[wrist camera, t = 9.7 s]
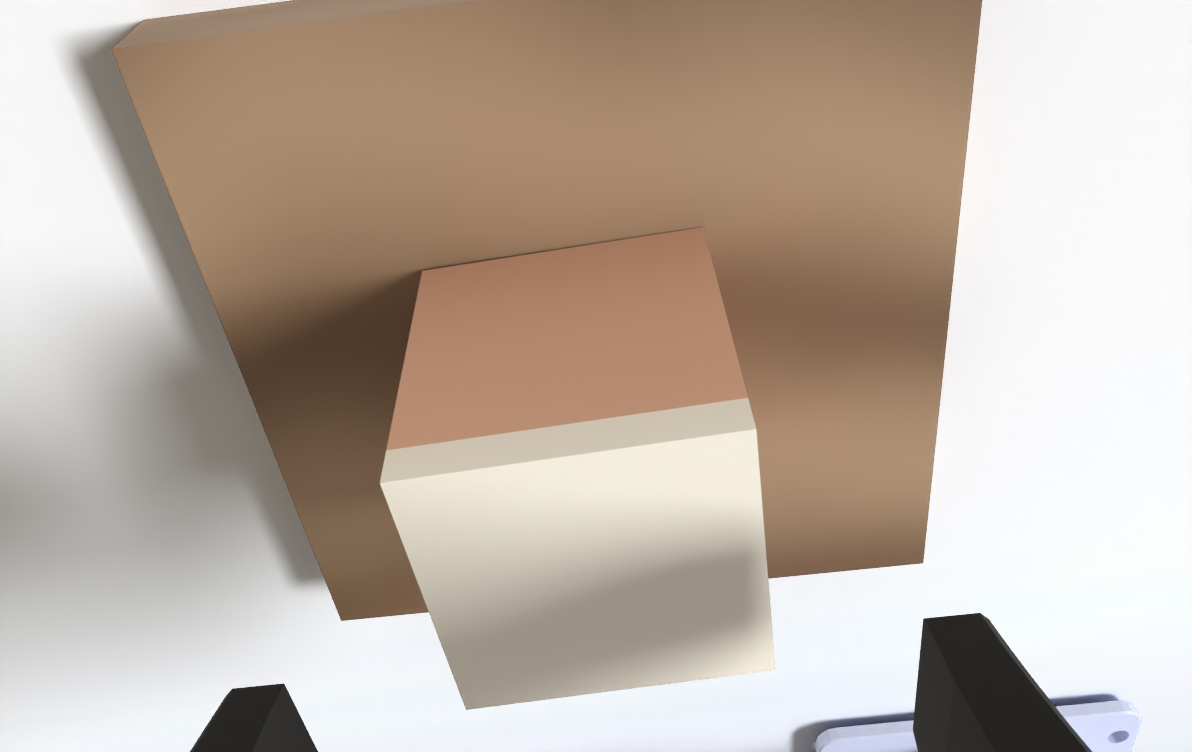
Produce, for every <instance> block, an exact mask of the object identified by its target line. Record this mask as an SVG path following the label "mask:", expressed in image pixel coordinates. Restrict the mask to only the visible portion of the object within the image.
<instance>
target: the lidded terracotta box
mask: <svg viewBox="0 0 1192 752" xmlns="http://www.w3.org/2000/svg"><path fill="white" fill-rule="evenodd" d="M380 485H381V488H382V490H383V493H384V496H385V498H386V501H387V504H388V506H389V509H390V511H391V514H392V517H393V519H394V522H395V524H396V527H397V530H398V532H399V535H400V538H401V540H402V543H403V545H404V548H405V551H406V553H407V556H408V559H409V561H410V564H411V566H412V569H413V572H414V574H415V577H416V579H417V582H418V585H419V587H420V590H421V593H422V595H423V598H424V600H425V603H426V606H427V608H428V611H429V613H430V616H431V619H432V621H433V624H434V627H435V629H436V632H437V634H438V637H439V640H440V642H441V645H442V647H443V650H444V653H445V655H446V658H447V661H448V663H449V666H450V668H451V671H452V674H453V676H454V679H455V681H456V684H457V687H458V689H459V692H460V695H461V697H462V700H463V702H464V705H465V708H466V710H468V709H475V708H483V707H491V706H499V705H506V704H514V703H522V702H530V701H538V700H545V699H553V698H561V697H569V696H576V695H584V694H592V693H600V692H607V691H615V690H623V689H631V688H639V687H646V686H654V685H662V684H670V683H677V682H685V681H693V680H701V679H708V678H716V677H724V676H732V675H739V674H747V673H755V672H763V671H771V670H775V659H774V647H773V634H772V621H771V609H770V596H769V583H768V571H767V558H766V545H765V533H764V520H763V507H762V494H761V482H760V469H759V456H758V444H757V431H756V426H755V422H754V418H753V414H752V411H751V407H750V403H749V399H748V395H747V392H746V388H745V384H744V380H743V376H742V373H741V369H740V365H739V361H738V357H737V354H736V350H735V346H734V342H733V338H732V335H731V331H730V327H729V323H728V319H727V315H726V312H725V308H724V304H723V300H722V296H721V293H720V289H719V285H718V281H717V277H716V274H715V270H714V266H713V262H712V258H711V255H710V251H709V247H708V243H707V239H706V236H705V232H704V228H703V227H700V228H693V229H687V230H681V231H674V232H668V233H661V234H655V235H649V236H642V237H636V238H629V239H623V240H617V241H610V242H604V243H597V244H591V245H585V246H578V247H572V248H565V249H559V250H552V251H546V252H540V253H533V254H527V255H520V256H514V257H508V258H501V259H495V260H488V261H482V262H476V263H469V264H463V265H456V266H450V267H444V268H437V269H431V270H424V271H422V274H421V279H420V284H419V289H418V294H417V299H416V304H415V309H414V314H413V319H412V324H411V329H410V334H409V339H408V344H407V349H406V354H405V359H404V364H403V369H402V374H401V379H400V384H399V389H398V394H397V399H396V404H395V409H394V414H393V419H392V424H391V429H390V434H389V439H388V444H387V449H386V454H385V459H384V464H383V469H382V474H381V479H380Z"/></svg>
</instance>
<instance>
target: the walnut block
mask: <svg viewBox="0 0 1192 752" xmlns="http://www.w3.org/2000/svg"><path fill="white" fill-rule="evenodd" d="M981 6H982V0H292V1H284V2H277V3H269V4H261V5H254V6H246V7H238V8H231V9H223V10H215V11H208V12H200V13H192V14H185V15H177V16H169V17H162V18H154V19H146V20H143V21H142V22H141V23H140V24H139V25H138V26H136V27H135V28H134V29H133V30H132V31H131V32H130V33H129V34H128V35H126V36H125V37H124V38H123V39H122V40H121V41H120V42H119V43H117V44H116V45H115V46H114V47H113V48H112V49H111V50H112V52H113V55H114V57H115V60H116V62H117V65H118V67H119V70H120V72H121V75H122V77H123V80H124V82H125V85H126V87H127V90H128V92H129V94H130V97H131V99H132V102H133V104H134V107H135V109H136V112H137V114H138V117H139V119H140V122H141V124H142V127H143V129H144V132H145V134H146V137H147V139H148V142H149V144H150V147H151V149H152V152H153V154H154V157H155V159H156V162H157V164H158V167H159V169H160V171H161V174H162V176H163V179H164V181H165V184H166V186H167V189H168V191H169V194H170V196H171V199H172V201H173V204H174V206H175V209H176V211H177V214H178V216H179V219H180V221H181V224H182V226H183V229H184V231H185V234H186V236H187V239H188V241H189V244H190V246H191V248H192V251H193V253H194V256H195V258H196V261H197V263H198V266H199V268H200V271H201V273H202V276H203V278H204V281H205V283H206V286H207V288H208V291H209V293H210V296H211V298H212V301H213V303H214V306H215V308H216V311H217V313H218V316H219V318H220V321H221V323H222V326H223V328H224V330H225V333H226V335H227V338H228V340H229V343H230V345H231V348H232V350H233V353H234V355H235V358H236V360H237V363H238V365H239V368H240V370H241V373H242V375H243V378H244V380H245V383H246V385H247V388H248V390H249V393H250V395H251V398H252V400H253V403H254V405H255V407H256V410H257V412H258V415H259V417H260V420H261V422H262V425H263V427H264V430H265V432H266V435H267V437H268V440H269V442H270V445H271V447H272V450H273V452H274V455H275V457H276V460H277V462H278V465H279V467H280V470H281V472H282V475H283V477H284V480H285V482H286V484H287V487H288V489H289V492H290V494H291V497H292V499H293V502H294V504H295V507H296V509H297V512H298V514H299V517H300V519H301V522H302V524H303V527H304V529H305V532H306V534H307V537H308V539H309V542H310V544H311V547H312V549H313V552H314V554H315V557H316V559H317V561H318V564H319V566H320V569H321V571H322V574H323V576H324V579H325V581H326V584H327V586H328V589H329V591H330V594H331V596H332V599H333V601H334V604H335V606H336V609H337V611H338V614H339V616H340V619H341V621H344V620H354V619H364V618H374V617H384V616H394V615H405V614H415V613H425V612H429V611H428V608H427V606H426V603H425V600H424V598H423V595H422V593H421V590H420V587H419V585H418V582H417V579H416V577H415V574H414V572H413V569H412V566H411V564H410V561H409V559H408V556H407V553H406V551H405V548H404V545H403V543H402V540H401V538H400V535H399V532H398V530H397V527H396V524H395V522H394V519H393V517H392V514H391V511H390V509H389V506H388V504H387V501H386V498H385V496H384V493H383V490H382V488H381V485H380V479H381V474H382V469H383V464H384V459H385V454H386V449H387V444H388V439H389V434H390V429H391V424H392V419H393V414H394V409H395V404H396V399H397V394H398V389H399V384H400V379H401V374H402V369H403V364H404V359H405V354H406V349H407V344H408V339H409V334H410V329H411V324H412V319H413V314H414V309H415V304H416V299H417V294H418V289H419V284H420V279H421V274H422V271H424V270H431V269H437V268H444V267H450V266H456V265H463V264H469V263H476V262H482V261H488V260H495V259H501V258H508V257H514V256H520V255H527V254H533V253H540V252H546V251H552V250H559V249H565V248H572V247H578V246H585V245H591V244H597V243H604V242H610V241H617V240H623V239H629V238H636V237H642V236H649V235H655V234H661V233H668V232H674V231H681V230H687V229H693V228H700V227H703V228H704V232H705V236H706V239H707V243H708V247H709V251H710V255H711V258H712V262H713V266H714V270H715V274H716V277H717V281H718V285H719V289H720V293H721V296H722V300H723V304H724V308H725V312H726V315H727V319H728V323H729V327H730V331H731V335H732V338H733V342H734V346H735V350H736V354H737V357H738V361H739V365H740V369H741V373H742V376H743V380H744V384H745V388H746V392H747V395H748V399H749V403H750V407H751V411H752V414H753V418H754V422H755V426H756V431H757V444H758V456H759V469H760V482H761V494H762V507H763V520H764V533H765V545H766V558H767V571H768V578H778V577H788V576H798V575H808V574H818V573H828V572H838V571H849V570H859V569H869V568H879V567H889V566H899V565H909V564H919V563H923V558H924V549H925V539H926V530H927V520H928V511H929V501H930V492H931V482H932V473H933V463H934V454H935V444H936V435H937V425H938V416H939V406H940V397H941V387H942V378H943V368H944V359H945V349H946V340H947V330H948V321H949V311H950V301H951V292H952V282H953V273H954V263H955V254H956V244H957V235H958V225H959V216H960V206H961V197H962V187H963V178H964V168H965V159H966V149H967V140H968V130H969V121H970V111H971V102H972V92H973V83H974V73H975V64H976V54H977V45H978V35H979V25H980V16H981Z"/></svg>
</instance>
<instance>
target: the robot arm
mask: <svg viewBox="0 0 1192 752" xmlns="http://www.w3.org/2000/svg"><path fill="white" fill-rule="evenodd" d="M1140 724H1141V715H1140V713H1139V712H1138V710H1137V708H1136V706H1135V705H1134V704H1133V703H1131V702H1128V701H1125V700H1116V701H1106V702H1096V703H1085V704H1075V705H1065V706H1054V705H1053V703H1052V702H1051V701H1050V700H1049V698H1048V697H1047V696H1046V695H1045V693H1044V692H1043V691H1042V690H1041V688H1040V687H1039V686H1038V684H1037V683H1036V682H1035V681H1034V679H1033V678H1032V677H1031V675H1030V674H1029V673H1028V672H1027V670H1026V669H1025V668H1024V666H1023V665H1022V664H1021V662H1020V661H1019V660H1018V658H1017V657H1016V656H1015V654H1014V653H1013V652H1012V650H1011V649H1010V648H1009V646H1008V645H1007V644H1006V642H1005V641H1004V640H1003V638H1002V637H1001V636H1000V634H999V633H998V631H997V630H996V629H995V627H994V626H993V624H992V623H991V622H990V620H989V619H988V618H986V617H985V616H983V615H982V614H981V613H975V614H966V615H956V616H946V617H936V618H926V619H923V629H922V640H921V650H920V660H919V671H918V681H917V691H916V702H915V712H914V720H910V721H899V722H889V723H879V724H868V725H858V726H848V727H837V728H832V729H828V730H826V731H824V732H822V733H821V734H820V735H819V736H818V737H817V740H816V752H1132V749H1133V746H1134V743H1135V740H1136V737H1137V734H1138V731H1139V727H1140ZM190 752H318V751H317V749H316V747H315V745H314V743H313V741H312V739H311V737H310V735H309V733H308V731H307V729H306V727H305V725H304V723H303V721H302V719H301V717H300V715H299V713H298V711H297V709H296V707H295V705H294V703H293V701H292V699H291V697H290V695H289V693H288V691H287V689H286V687H285V685H284V684H276V685H266V686H256V687H246V688H236V689H232V690H231V691H230V692H229V693H228V694H227V696H226V697H225V698H224V700H223V702H222V703H221V705H220V706H219V708H218V709H217V711H216V712H215V714H214V715H213V717H212V718H211V720H210V722H209V723H208V725H207V726H206V728H205V729H204V731H203V732H202V734H201V736H200V737H199V739H198V740H197V742H196V743H195V745H194V746H193V748H192V750H191V751H190Z"/></svg>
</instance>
